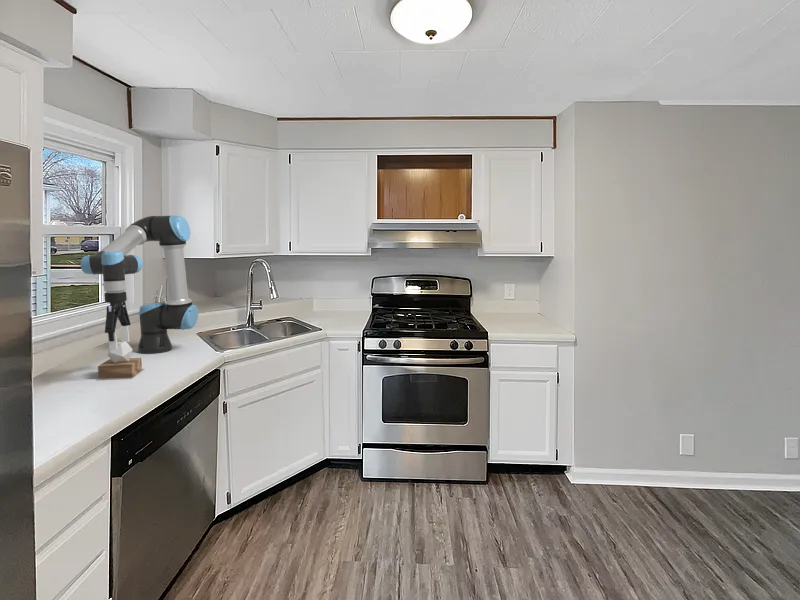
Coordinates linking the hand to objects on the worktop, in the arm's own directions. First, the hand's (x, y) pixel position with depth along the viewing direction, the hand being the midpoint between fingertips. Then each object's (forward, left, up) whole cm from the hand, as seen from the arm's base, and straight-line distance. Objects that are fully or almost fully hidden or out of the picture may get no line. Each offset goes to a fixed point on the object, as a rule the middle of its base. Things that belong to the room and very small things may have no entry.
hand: (119, 345), depth 214 cm
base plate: (0, 0, -13) cm, 13 cm away
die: (0, 0, -7) cm, 7 cm away
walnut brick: (0, 0, -11) cm, 11 cm away
